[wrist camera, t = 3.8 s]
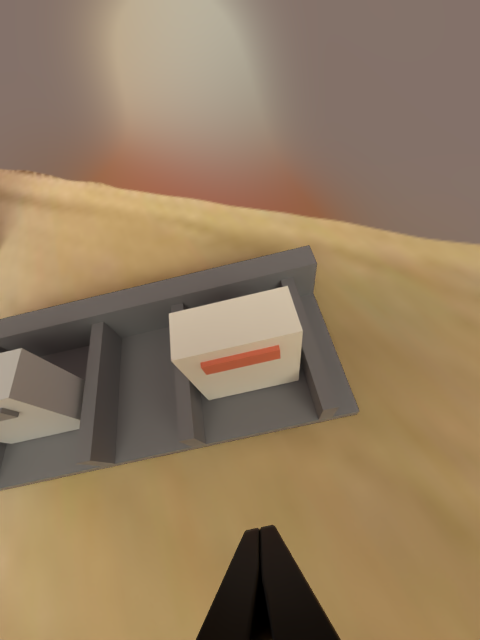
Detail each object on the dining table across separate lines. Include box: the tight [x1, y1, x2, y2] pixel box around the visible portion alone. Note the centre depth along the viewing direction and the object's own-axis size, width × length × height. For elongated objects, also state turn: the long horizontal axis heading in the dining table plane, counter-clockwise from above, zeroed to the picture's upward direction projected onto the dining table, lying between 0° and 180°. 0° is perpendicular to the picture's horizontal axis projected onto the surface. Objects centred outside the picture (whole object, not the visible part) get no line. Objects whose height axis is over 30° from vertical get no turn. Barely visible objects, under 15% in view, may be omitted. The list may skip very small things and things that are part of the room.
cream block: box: [169, 286, 303, 400], centre depth 19 cm, size 3×7×8 cm, turn 100°
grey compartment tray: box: [0, 245, 359, 491], centre depth 22 cm, size 13×30×5 cm, turn 100°
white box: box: [0, 348, 85, 444], centre depth 19 cm, size 3×7×8 cm, turn 101°
